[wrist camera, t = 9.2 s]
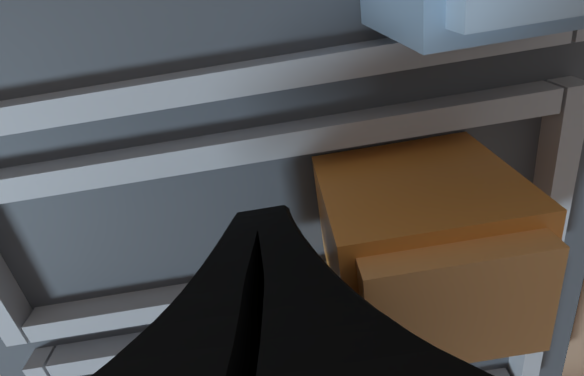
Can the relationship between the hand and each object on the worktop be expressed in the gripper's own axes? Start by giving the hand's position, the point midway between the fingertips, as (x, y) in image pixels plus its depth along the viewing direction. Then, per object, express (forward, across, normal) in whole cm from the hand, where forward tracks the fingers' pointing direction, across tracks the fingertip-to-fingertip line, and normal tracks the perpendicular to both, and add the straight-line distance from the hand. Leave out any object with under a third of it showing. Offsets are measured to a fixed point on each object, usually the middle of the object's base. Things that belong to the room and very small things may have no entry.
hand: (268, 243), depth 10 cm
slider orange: (+1, -3, 0) cm, 4 cm away
